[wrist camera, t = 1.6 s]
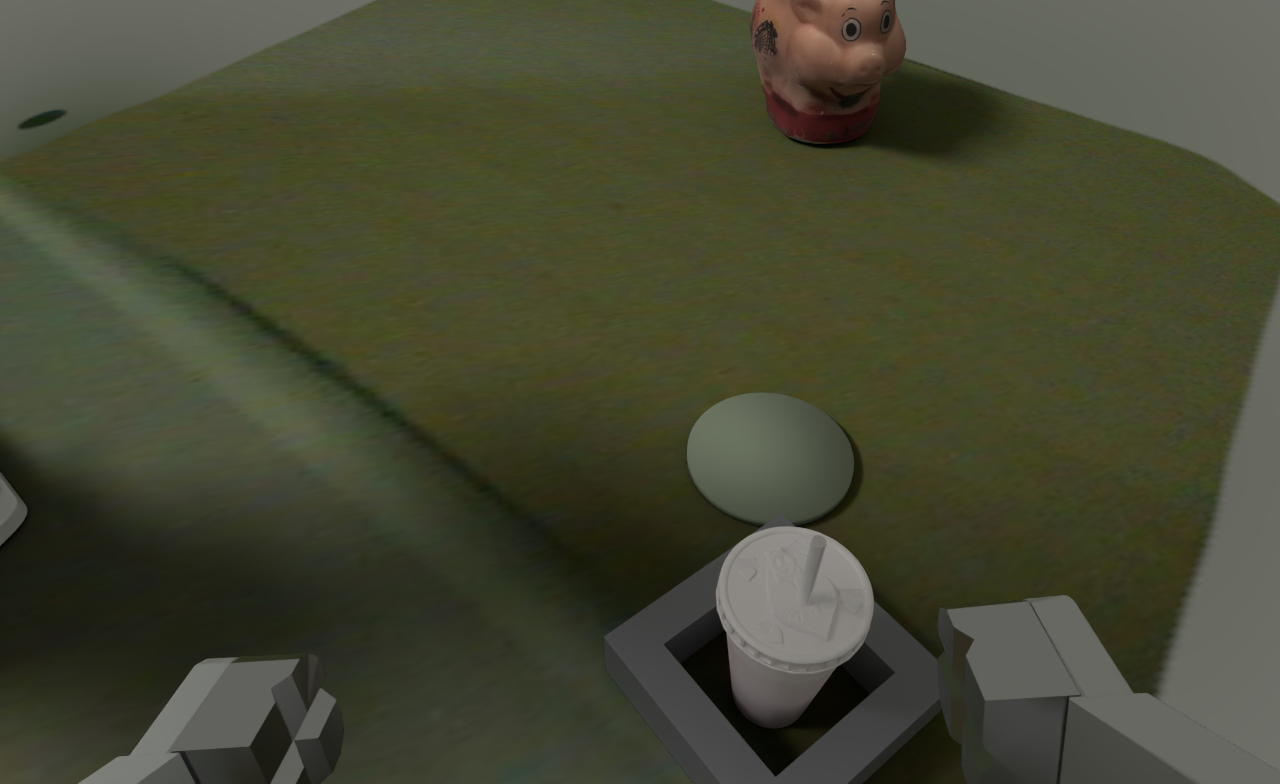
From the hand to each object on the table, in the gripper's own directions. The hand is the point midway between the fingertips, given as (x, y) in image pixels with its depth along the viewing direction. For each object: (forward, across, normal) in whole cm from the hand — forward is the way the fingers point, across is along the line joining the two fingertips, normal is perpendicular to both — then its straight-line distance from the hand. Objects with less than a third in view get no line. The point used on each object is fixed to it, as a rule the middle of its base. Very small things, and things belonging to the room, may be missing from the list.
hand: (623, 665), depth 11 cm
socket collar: (+23, -2, +24) cm, 33 cm away
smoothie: (+23, -2, +24) cm, 33 cm away
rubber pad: (+36, -4, +19) cm, 41 cm away
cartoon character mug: (+76, -12, +5) cm, 77 cm away
